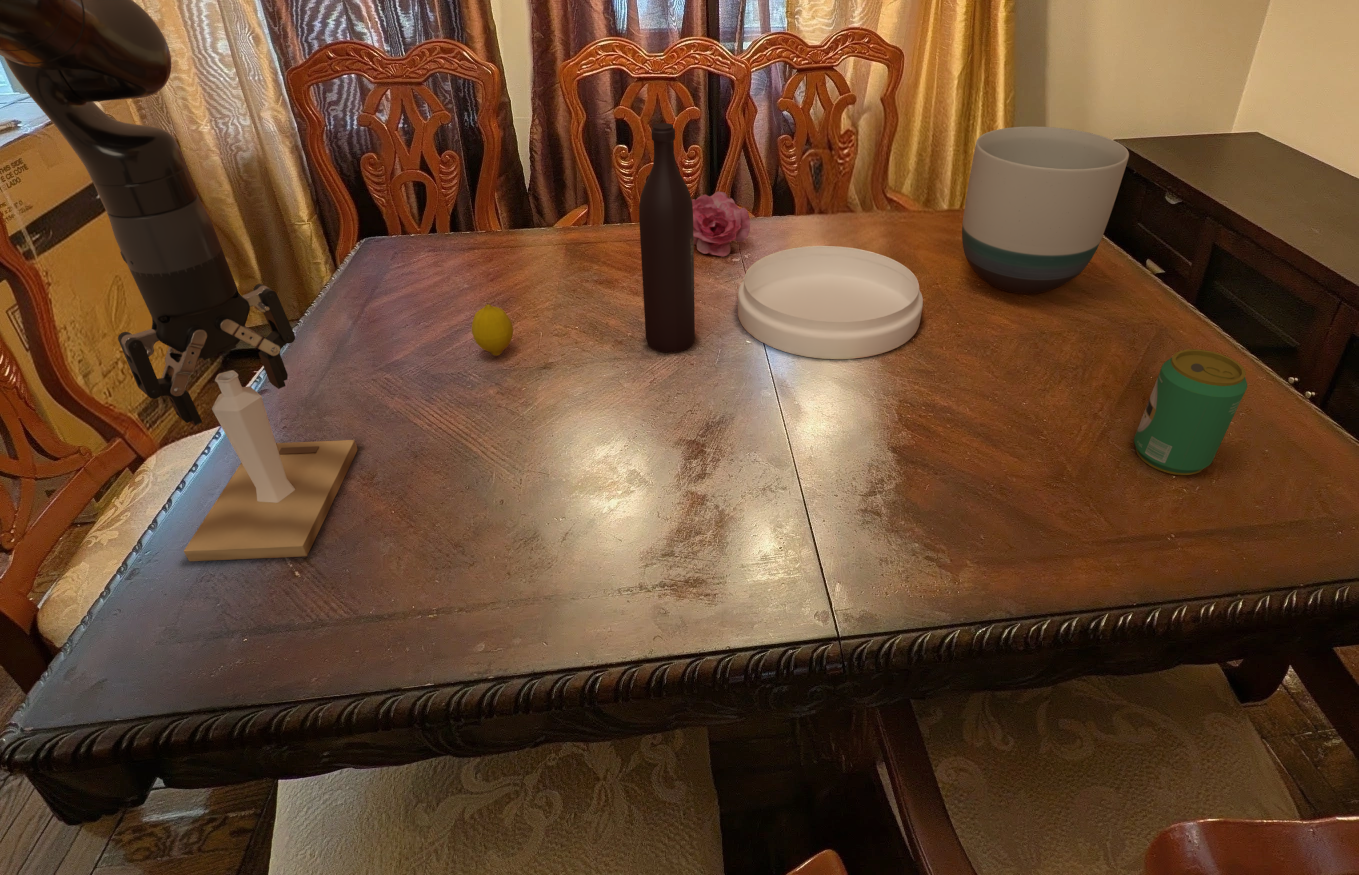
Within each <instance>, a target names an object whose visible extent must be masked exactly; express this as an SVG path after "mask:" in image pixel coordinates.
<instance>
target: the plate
mask: <svg viewBox="0 0 1359 875" xmlns="http://www.w3.org/2000/svg"><path fill="white" fill-rule="evenodd" d="M923 306H924V298H923V294H922V292H921V289H920V284H919V280H918V278H917V276H916V275H915V274H914V273H913V271H911V269H909V268H908V267H907V266H906V265H904V264H902V263H901V262H899V261H897V260H895V259H893V258H891V257H888V256H885V255H883V254H881V253H877V252H874V251H870V250H866V249H861V248H856V247H848V246H837V245H810V246H807V245H806V246H800V247H799V246H798V247H793V248H789V249H788V248H787V249H783V250H779V251H776V252H773V253H770V254H767V255H765V256H763V257H761V258H759V259H758V260H756V261H755V262H754V263H752V264H751V265H750V266H749V267H748V268H747V270H746V271H745V274H744V278H743V280H742V281H741V282H740V284H739V287H738V291H737V316H738V320H739V323H740V324H741V326H742V327H743V329H744V330H745V331H746V332H747V333H748V334H749V335H750V336H752V337H753V338H755V339H756V340H758V341H759V342H761V343H763V344H764V345H766V346H769V347H771V348H773V349H776V350H778V351H780V352H781V351H782V352H784V353H787V354H791V355H795V356H796V355H797V356H800V357H806V358H812V359H822V360H852V359H853V360H854V359H863V358H867V357H868V358H869V357H873V356H877V355H881V354H885V353H888V352H890V351H893V350H895V349H897V348H899V347H901V346H903V345H905V344H906V343H907V342H909V341H910V340H911V339H912V338H913V337H914V336H915V335H916V333H917V332H918V329H919V327H920V324H921V319H922V312H923Z"/></svg>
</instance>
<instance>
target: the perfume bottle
mask: <svg viewBox="0 0 1359 875" xmlns="http://www.w3.org/2000/svg"><path fill="white" fill-rule="evenodd" d="M214 382H215V383H216V384H217V385H218V388H219V390H220V392H221V393H219V394H218V396H217V397H216V400H215V401H214V403H213V405H212V407H211V410H212V413H213V414H214V416H215V418H216V420H217V422H218V424H219V425H220V427H221V429H222V430H223V432H224V434H225V436H226V437H227V439H228V441H229V443H230V444H231V446H232V448H233V450H234V452H235V453H236V455H237V457H238V459H239V461H240V462H242V464H243V466H244V468H245V469H246V471H247V473H248V475H249V477H250V478H251V480H252V482H253V484H254V485H255V487H256V494H257V501H259V502H272V503H278V502H280V501H281V500H282V499H284V498H285V497H286V496H288V495H289V494H290V493H292V492H293V491H294V490H295V488H294V487H293V486H292V484H291V483H290V482H289V481H288V479H287V478H286V474H285V471H284V468H283V465H282V462H281V458H280V455H279V452H278V449H277V445H276V443H277V442H276V439H275V436H274V433H273V429H272V426H271V422H270V419H269V417H268V413H267V409H266V406H265V404H264V400H263V396H262V395H261V394H260V393H259V392H257V390H255V389H254V388H253V387H251V386H242V383H241V381H240V379H239V373H237V371H235V370H233V369H232V370H227V371H224V372H220V373H218V374H217V375H216V377H215V379H214Z"/></svg>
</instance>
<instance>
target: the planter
mask: <svg viewBox="0 0 1359 875" xmlns="http://www.w3.org/2000/svg"><path fill="white" fill-rule="evenodd" d="M972 156H973V157H972V162H971V167H970V172H969V176H968V177H969V178H968V183H967V191H966V196H965V203H964V210H963V216H962V217H963V218H962V224H961V225H962V226H961V241H962V250H963V253H964V257H965V259H966V262H967V263H968V264H969V266H970V268H971V269H972V270H973V271H974V273H975V274H976V275H977V276H979V278H981V279H982V280H983V281H984V282H986V283H987V284H988V285H990V286H992V287H994V288H997V289H999V290H1001V291H1005V292H1009V293H1013V294H1014V293H1015V294H1024V295H1027V294H1028V295H1029V294H1031V295H1032V294H1040V293H1045V292H1048V291H1052V290H1055V289H1057V288H1059V287H1062V286H1064V285H1065V284H1068V283H1069V282H1071V281H1073V279H1075V278H1077V277H1078V276H1079V275H1080V274H1081V273H1082V272H1083V271H1084V270H1085V269H1086V267H1087V266H1089V264H1090V262H1091V260H1092V259H1093V258H1094V255H1095V254H1096V252H1097V250H1098V249H1099V246H1100V244H1101V241H1102V239H1103V236H1104V235H1105V234H1104V233H1105V231H1106V228H1107V225H1108V222H1109V219H1110V217H1111V214H1112V211H1113V209H1114V206H1115V202H1116V199H1117V196H1118V193H1119V190H1120V187H1121V183H1122V180H1123V177H1124V174H1125V171H1126V167H1127V164H1128V161H1129V158H1130V152H1129V151H1128V148H1126V147H1125V146H1124V145H1123V144H1121V143H1120V142H1118V141H1116V140H1114V139H1111V138H1108V137H1106V136H1103V135H1100V134H1097V133H1092V132H1087V131H1083V130H1077V129H1070V128H1065V127H1064V128H1063V127H1055V126H1051V127H1050V126H1014V127H1012V126H1011V127H1004V128H998V129H993V130H991V131H987V132H985V133H983V134H981V135H980V136H979V137H978V138H977V139H976V141H975V146H974V150H973V155H972Z"/></svg>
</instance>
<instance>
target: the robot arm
mask: <svg viewBox="0 0 1359 875" xmlns="http://www.w3.org/2000/svg"><path fill="white" fill-rule="evenodd" d="M0 56H1V57H3V58H4V61H5V63H6V64H7V66H8V68H9V69H10V71H11V73H12V74H13V76H14V77H15V79H16V80H17V81H18V83H19V84H20V85H21V87H22V88H23V89H24V91H25V92H26V94H28V95H29V96H30V98H31V99H32V101H34V102H35V103H36V105H37V106H38V107H39V109H40V110H41V111H42V112H43V113H44V114H45V116H46V117H47V118H48V119H49V120H50V122H51V123H52V124H53V126H55V128H56V129H57V130H58V132H59V133H60V134H61V135H62V137H63V138H64V139H65V141H66V142H67V143H68V145H69V146H70V148H71V149H72V150H73V151H74V153H75V154H76V155H77V157H78V159H79V160H80V162H81V163H82V164H83V166H84V168H85V170H86V171H87V173H88V176H89V177H90V180H91V181H92V184H93V186H94V188H95V191H96V192H97V194H98V197H99V198H100V201H101V204H102V205H103V208H104V209H105V211H106V214H107V217H108V219H109V222H110V226H111V230H112V232H113V233H112V234H113V235H114V236H113V237H114V239H115V241H116V243H117V246H118V247H119V250H120V255H121V257H122V260H123V261H124V263H126V265H127V267H128V270H129V271H130V274H131V276H132V278H133V280H134V282H135V284H136V286H137V289H138V291H139V292H140V295H141V297H142V300H143V302H144V303H145V305H146V308H147V310H148V312H149V314H150V316H151V320H152V322H151V328H149V329H147V330H142V331H139V332H136V333H131V332H129V331H123V332H120V333H119V334H118V335H117V336H118V337H117V341H118V343H119V346H120V348H121V350H122V353H123V355H124V358H125V360H126V362H127V365H128V366H129V369H130V372H131V374H132V376H133V379H134V381H135V383H136V386H137V388H138V389H139V390H141V392H143V393H144V394H145V395H146V396H147V397H148V398H150V399H153V400H156V399H159V398H160V397H164V396H166V397H167V398H168V399H169V402H170V404H171V406H172V408H173V410H174V411H175V414H176V415H177V417H178V418H180V419H181V420H182V421H183V422H184V423H185V424H189V423H191V425H193V426H194V427H197V426H198V425H200V424H203V420H202V418H201V415H200V414H199V411H198V409H197V407H196V405H195V403H194V401H193V399H192V396H191V394H190V392H189V391H188V390H186V388H187V385H188V382H189V379H190V377H191V375H193V374H194V373H195V369H196V367H197V363H198V361H199V360H203V361H206V360H209V359H211V358H214V357H215V356H216V355H218V354H219V353H221V352H228V351H231V350H235V349H237V345H238V344H239V343H240V342H241V341H243V342H245V343H246V344H248V345H250V346H252V347H254V348H256V349H258V350H260V351H259V352H257V353H258V356H259V359H260V361H261V364H262V366H263V369H264V371H265V374H266V376H267V379H268V382H269V383H270V385H272V386H273V387H275V388H276V389H278V390H280V389H282V388H284V387H286V382H285V381H288V377H289V375H288V372H287V370H286V367H285V366H286V365H285V363H284V361H283V358H282V355H281V350H282V349H283V347H285V346H286V345H288V344H292V343H294V342H295V340H296V335H295V333H294V331H293V328H292V325H291V323H290V321H289V318H288V317H287V313H286V312H285V309H284V307H283V305H282V303H281V300H280V298H279V295H278V293H277V292H276V291H274V289H272V288H270V287H268V286H267V285H264V284H262V283H258V284H256V285H255V286H253V290H252V291H250V292H248V293H245V294H243V295H241V293H240V292H239V289H238V286H237V283H236V281H235V279H234V276H233V273H232V271H231V268H230V266H229V263H228V261H227V257H226V255H225V253H224V250H223V248H222V244H221V242H220V239H219V237H218V234H217V231H216V229H215V226H214V225H213V222H212V220H211V217H210V215H209V213H208V211H207V210H206V208H205V206H204V205H203V203H202V200H201V199H200V196H199V195H198V192H197V189H196V187H195V183H194V182H193V179H192V176H191V173H190V171H189V169H188V166H187V163H186V161H185V158H184V156H183V153H182V151H181V149H180V146H179V144H178V142H177V140H176V139H175V137H174V136H173V135H172V134H171V133H170V132H169V131H167V130H166V129H163V128H161V127H156V126H152V125H144V124H135V123H129V122H124V121H120V120H117V119H114V118H113V117H111V116H109V115H108V114H107V113H106V112H105V111H104V110H102V108H100V107H99V106H98V105H97V104H96V102H107V101H119V100H131V99H132V100H133V99H141V98H147V97H150V96H153V95H155V94H157V93H159V92H160V91H161V90H163V89H164V87H165V86H166V85H167V83H168V81H169V80H170V77H171V73H172V56H171V51H170V47H169V44H168V42H167V39H166V38H165V35H164V34H163V31H161V29H160V27H159V26H158V25H157V23H156V22H155V20H153V18H152V17H151V16H150V15H149V13H148V12H147V11H146V10H145V9H144V8H143V7H141V5H139V4H138V3H137V2H135V1H134V0H0ZM251 307H253V308H254V309H255V310H256V311H258V312H260V313H262V314H263V316H264V318H265V321H266V323H267V324H268V327H269V329H270V331H271V332H270V333H269V334H267V335H266V336H264V335H262V334H260V333H259V332H257V331H254V330H253V329H251V328H249V327H247V326H246V324H247V321H248V318H249V314H250V311H251ZM157 342H160V343H162V344H164V345H166V346H167V347H168V348H167V350H166V354H165V357H164V363H165V364H164V365H165V366H164V368H163V372H162V375H161V377H159V378H158V377H157V374H156V372H155V369H154V367H153V365H152V362H151V359H150V358H149V357H152V355H153V354H154V352H155V349H154V346H155V344H156V343H157Z"/></svg>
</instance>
